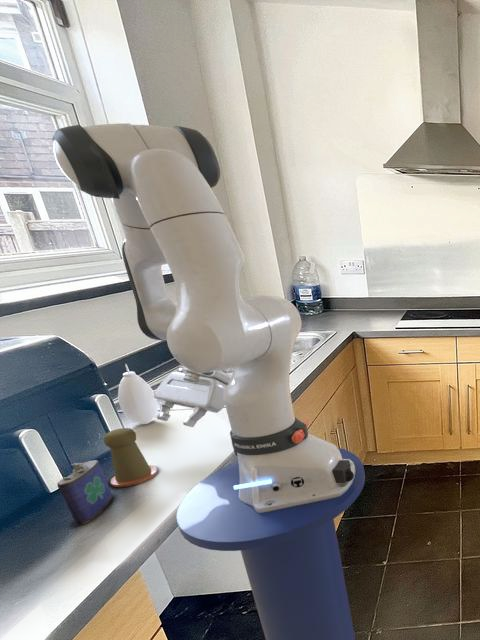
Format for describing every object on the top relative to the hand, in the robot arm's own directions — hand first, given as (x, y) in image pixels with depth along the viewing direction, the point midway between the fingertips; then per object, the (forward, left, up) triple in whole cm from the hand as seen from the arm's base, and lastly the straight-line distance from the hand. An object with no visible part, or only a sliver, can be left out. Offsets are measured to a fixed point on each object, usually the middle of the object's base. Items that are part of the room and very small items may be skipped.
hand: (174, 423), depth 100 cm
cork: (+6, +9, -8) cm, 14 cm away
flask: (+5, +21, -9) cm, 24 cm away
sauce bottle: (+21, -22, -9) cm, 31 cm away
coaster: (+6, +9, -9) cm, 14 cm away
